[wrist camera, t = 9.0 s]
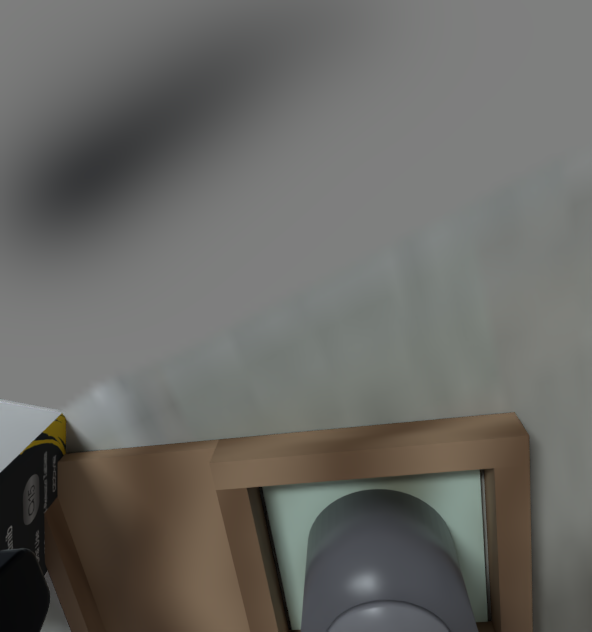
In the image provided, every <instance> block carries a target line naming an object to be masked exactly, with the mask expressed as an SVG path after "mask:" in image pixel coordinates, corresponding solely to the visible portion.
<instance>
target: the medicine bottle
mask: <svg viewBox="0 0 592 632" xmlns="http://www.w3.org/2000/svg"><path fill="white" fill-rule="evenodd" d="M62 412H63V411H62V410H58V409H53V408H48V407H42V406H37V405H32V404H26V403H21V402H16V401H10V400H5V399H0V551H2V550H6V549H20V548H27V549H30V550H31V551H32V552H34V553H35V555H36V558H37V560H38V563H39V565H40V568H41V570H42V573H43V575H45V573H46V572H47V567H46V565H45V524H44V513H45V512H46V510H47V509H48V508H49V507H50V505H51V504H52V503H53V502H54V501H55V499H56V498H57V497H58V461H59V460H60V459H61V458H62V457H63V456H64V454H66V419H65V417H64V416H63V414H62Z"/></svg>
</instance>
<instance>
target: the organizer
mask: <svg viewBox="0 0 592 632" xmlns="http://www.w3.org/2000/svg"><path fill="white" fill-rule="evenodd" d="M480 469H484V481H485V500H486V520H487V540H488V560H489V580H490V599H491V619H492V621H488V614H487V596H486V577H485V558H484V540H483V521H482V502H481V483H480ZM259 487H262V489H263V493H264V498H265V503H266V508H267V512H268V517H269V522H270V527H271V532H272V536H273V541H274V546H275V551H276V555H277V560H278V565H279V570H280V574H281V579H282V584H283V589H284V594H285V598H286V603H287V608H288V613H289V617H290V622H291V627H292V629H289V627H288V623H287V618H286V613H285V609H284V604H283V599H282V594H281V590H280V585H279V580H278V576H277V571H276V566H275V561H274V557H273V552H272V547H271V543H270V538H269V533H268V528H267V524H266V519H265V514H264V510H263V505H262V500H261V495H260V491H259ZM370 489H387V490H395V491H400V492H403V493H407V494H410V495H412V496H414V497H417V498H419V499H421V500H422V501H424V502H426V503H427V504H429V505H430V506H431V507H432V508H434V509H435V510H436V511H437V512H438V513H439V514H440V516H441V517H442V518H443V520H444V521H445V522H446V524H447V526H448V528H449V530H450V533H451V536H452V540H453V543H454V547H455V550H456V554H457V558H458V561H459V565H460V568H461V572H462V575H463V579H464V582H465V586H466V590H467V593H468V597H469V600H470V604H471V607H472V611H473V614H474V618H475V621H476V625H477V629H478V632H533V617H532V562H531V507H530V452H529V435H528V433H527V431H526V430H525V428H524V427H523V425H522V423H521V422H520V420H519V419H518V417H517V416H516V414H515V412H513V413H502V414H491V415H480V416H469V417H458V418H448V419H437V420H426V421H415V422H404V423H393V424H382V425H372V426H361V427H350V428H339V429H328V430H317V431H306V432H296V433H285V434H274V435H263V436H252V437H241V438H230V439H220V440H209V441H198V442H187V443H176V444H165V445H155V446H144V447H133V448H122V449H111V450H100V451H89V452H79V453H68V454H64V456H63V457H62V458H61V459H60V460H59V461H58V497H57V498H56V499H55V501H54V502H53V503H52V504H51V505H50V507H49V508H48V509H47V510H46V512H45V513H44V524H45V565H46V567H47V570H48V572H49V575H50V578H51V580H52V583H53V585H54V588H55V591H56V593H57V596H58V598H59V601H60V604H61V606H62V609H63V611H64V614H65V616H66V619H67V622H68V624H69V627H70V629H71V632H301V620H302V607H303V595H304V582H305V570H306V558H307V545H308V537H309V532H310V529H311V527H312V525H313V523H314V521H315V519H316V518H317V516H318V515H319V514H320V513H321V512H322V511H323V510H324V509H325V508H326V507H327V506H328V505H330V504H331V503H332V502H334V501H335V500H337V499H339V498H341V497H343V496H345V495H348V494H351V493H354V492H358V491H362V490H370Z"/></svg>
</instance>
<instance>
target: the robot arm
mask: <svg viewBox="0 0 592 632" xmlns="http://www.w3.org/2000/svg"><path fill="white" fill-rule="evenodd" d="M49 603H50V592H49V588H48V586H47V583H46V581H45V578H44V575H43V573H42V570H41V568H40V565H39V563H38V560H37V558H36V555H35V553H34V552H32V551H31V550H30V549H27V548H20V549H6V550H2V551H0V632H40V630H41V628H42V625H43V622H44V620H45V617H46V614H47V612H48V608H49Z"/></svg>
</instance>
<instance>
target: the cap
mask: <svg viewBox="0 0 592 632" xmlns="http://www.w3.org/2000/svg"><path fill="white" fill-rule="evenodd" d="M301 632H478V629H477V625H476V621H475V618H474V614H473V611H472V607H471V604H470V600H469V597H468V593H467V590H466V586H465V582H464V579H463V575H462V572H461V568H460V565H459V561H458V558H457V554H456V550H455V547H454V543H453V540H452V536H451V533H450V530H449V528H448V526H447V524H446V522H445V521H444V520H443V518H442V517H441V516H440V514H439V513H438V512H437V511H436V510H435V509H434V508H432V507H431V506H430V505H429V504H427V503H426V502H424V501H422V500H421V499H419V498H417V497H414V496H412V495H410V494H407V493H403V492H400V491H395V490H387V489H370V490H362V491H358V492H354V493H351V494H348V495H345V496H343V497H341V498H339V499H337V500H335V501H334V502H332V503H331V504H330V505H328V506H327V507H326V508H325V509H324V510H323V511H322V512H321V513H320V514H319V515H318V516H317V518H316V519H315V521H314V523H313V525H312V527H311V529H310V532H309V537H308V545H307V558H306V570H305V582H304V595H303V607H302V620H301Z"/></svg>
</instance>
